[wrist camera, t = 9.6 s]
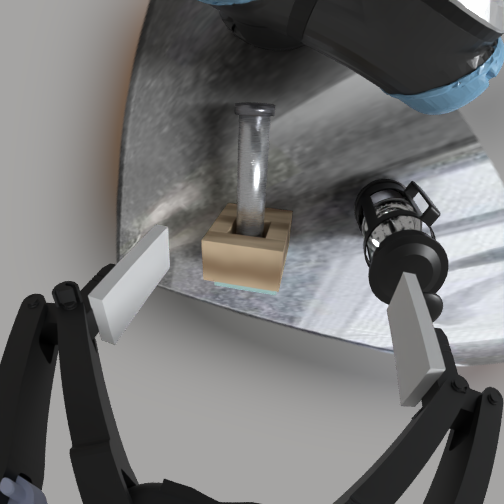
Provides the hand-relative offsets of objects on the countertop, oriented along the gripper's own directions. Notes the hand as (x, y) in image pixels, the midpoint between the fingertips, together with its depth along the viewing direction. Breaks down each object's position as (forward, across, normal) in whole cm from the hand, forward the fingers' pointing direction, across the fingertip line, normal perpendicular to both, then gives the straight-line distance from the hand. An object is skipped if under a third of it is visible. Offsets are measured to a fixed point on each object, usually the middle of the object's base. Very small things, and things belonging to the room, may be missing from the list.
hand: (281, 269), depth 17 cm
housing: (+30, -5, -13) cm, 33 cm away
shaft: (+25, -6, -4) cm, 26 cm away
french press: (+30, +13, -6) cm, 33 cm away
